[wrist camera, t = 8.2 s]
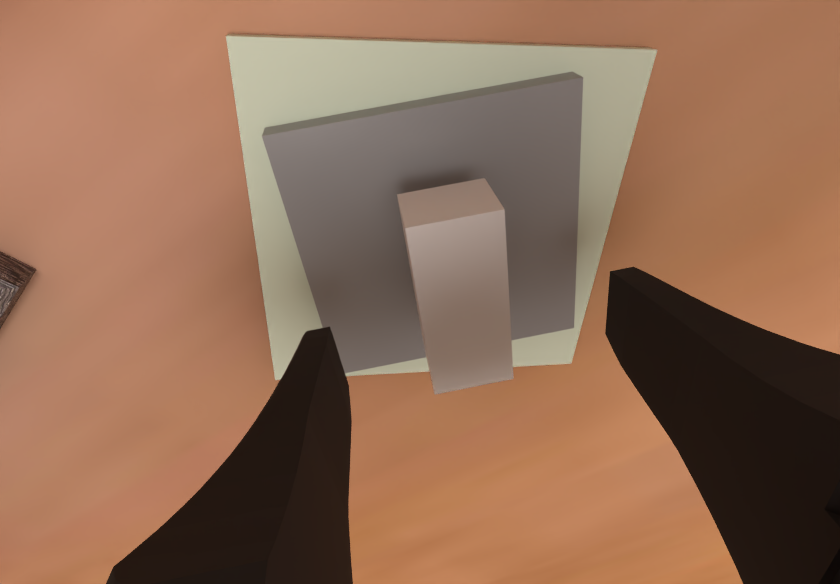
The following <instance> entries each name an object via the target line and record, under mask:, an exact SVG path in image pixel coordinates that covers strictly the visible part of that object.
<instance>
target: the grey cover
mask: <svg viewBox="0 0 840 584" xmlns="http://www.w3.org/2000/svg"><path fill="white" fill-rule="evenodd" d="M582 98H583V77H582V76H580V75H578V74H576V73H574V72H573V71H572V72H567V73H561V74H556V75H550V76H545V77H539V78H534V79H528V80H523V81H517V82H512V83H506V84H501V85H495V86H490V87H484V88H479V89H473V90H468V91H463V92H457V93H452V94H446V95H441V96H435V97H430V98H424V99H419V100H413V101H408V102H402V103H397V104H391V105H386V106H380V107H375V108H369V109H364V110H358V111H353V112H347V113H342V114H337V115H331V116H326V117H320V118H315V119H309V120H304V121H298V122H293V123H287V124H282V125H276V126H271V127H265V129H264V132H263V134H262V138H263V142H264V145H265V148H266V151H267V154H268V157H269V160H270V164H271V167H272V170H273V173H274V176H275V179H276V182H277V186H278V189H279V192H280V195H281V198H282V201H283V204H284V208H285V211H286V214H287V217H288V220H289V223H290V226H291V230H292V233H293V236H294V239H295V242H296V245H297V248H298V252H299V255H300V258H301V261H302V264H303V267H304V270H305V273H306V277H307V280H308V283H309V286H310V289H311V292H312V295H313V299H314V302H315V305H316V308H317V311H318V314H319V317H320V321H321V324H322V327H323V328H325V327H330V328H331V331H332V334H333V337H334V340H335V344H336V347H337V350H338V353H339V356H340V359H341V363H342V366H343V369H344V372H345V373H349V372H354V371H360V370H365V369H370V368H375V367H380V366H385V365H390V364H395V363H400V362H405V361H410V360H415V359H420V358H425V357H426V358H427V362H428V367H429V371H430V376H431V381H432V385H433V390H434V394H440V393H445V392H450V391H455V390H460V389H465V388H470V387H475V386H480V385H485V384H490V383H495V382H500V381H505V380H510V379H514V378H513V359H512V341H511V340H516V339H521V338H526V337H531V336H536V335H541V334H546V333H552V332H557V331H562V330H567V329H572V328H574V318H575V291H576V263H577V235H578V208H579V180H580V153H581V125H582Z"/></svg>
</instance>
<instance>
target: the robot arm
mask: <svg viewBox="0 0 840 584" xmlns="http://www.w3.org/2000/svg"><path fill="white" fill-rule="evenodd" d="M605 334H606V336H607V338H608V340H609V342H610V344H611V346H612V348H613V351H614V353H615V355H616V357H617V358H618V360H619V362H620V364H621V366H622V368H623V369H624V371H625V372H626V374H627V375H628V377H629V378H630V380H631V381H632V383H633V384H634V386H635V387H636V389H637V390H638V392H639V393H640V395H641V396H642V398H643V399H644V400H645V402H646V403H647V405H648V406H649V408H650V409H651V411H652V412H653V414H654V415H655V416H656V418H657V419H658V421H659V422H660V424H661V425H662V427H663V428H664V430H665V431H666V433H667V434H668V436H669V437H670V439H671V440H672V442H673V444H674V445H675V447H676V448H677V450H678V452H679V454H680V455H681V457H682V459H683V461H684V463H685V465H686V467H687V468H688V470H689V472H690V474H691V476H692V478H693V480H694V481H695V483H696V485H697V487H698V489H699V491H700V493H701V495H702V497H703V499H704V501H705V503H706V505H707V507H708V509H709V511H710V513H711V515H712V517H713V519H714V521H715V523H716V525H717V527H718V529H719V531H720V534H721V536H722V538H723V540H724V542H725V544H726V546H727V548H728V551H729V553H730V555H731V557H732V559H733V561H734V563H735V566H736V568H737V570H738V572H739V575H740V577H741V579H742V582H743V584H840V355H839V354H836V353H832V352H829V351H825V350H822V349H819V348H815V347H812V346H809V345H806V344H803V343H800V342H797V341H794V340H792V339H789V338H786V337H783V336H781V335H778V334H775V333H772V332H770V331H767V330H765V329H762V328H760V327H757V326H755V325H752V324H750V323H748V322H745V321H743V320H741V319H738V318H736V317H734V316H732V315H729V314H727V313H725V312H723V311H721V310H719V309H716V308H714V307H712V306H710V305H708V304H706V303H704V302H702V301H700V300H698V299H696V298H694V297H692V296H690V295H688V294H686V293H684V292H682V291H680V290H679V289H677V288H675V287H673V286H671V285H669V284H667V283H665V282H663V281H661V280H659V279H657V278H656V277H654V276H652V275H650V274H648V273H646V272H644V271H642V270H639V269H637V268H635V267H630V268H625V269H620V270H615V271H610V280H609V293H608V306H607V320H606V333H605ZM350 448H351V407H350V396H349V385H348V382H347V378H346V375H345V372H344V369H343V366H342V363H341V359H340V356H339V353H338V350H337V347H336V344H335V340H334V337H333V334H332V331H331V328H330V327H325V328H320V329H315V330H310V331H306V332H305V334H304V335H303V337H302V339H301V341H300V343H299V345H298V347H297V349H296V351H295V353H294V355H293V357H292V359H291V361H290V363H289V365H288V367H287V369H286V371H285V372H284V374H283V376H282V378H281V380H280V381H279V383H278V385H277V387H276V389H275V390H274V392H273V394H272V395H271V397H270V399H269V400H268V402H267V403H266V405H265V407H264V408H263V410H262V411H261V413H260V414H259V416H258V418H257V419H256V421H255V422H254V424H253V425H252V426H251V428H250V429H249V431H248V432H247V434H246V435H245V436H244V438H243V439H242V440H241V442H240V443H239V444H238V446H237V447H236V448H235V449H234V451H233V452H232V453H231V455H230V456H229V457H228V458H227V459H226V461H225V462H224V463H223V464H222V465H221V466H220V467H219V469H218V470H217V471H216V472H215V473H214V474H213V475H212V476H211V478H210V479H209V480H208V481H207V482H206V483H205V484H204V485H203V486H202V488H201V489H200V490H199V491H198V492H197V493H196V494H195V495H194V496H193V497H192V498H191V499H190V500H189V501H188V502H187V503H186V504H185V505H184V506H183V507H182V508H181V509H180V510H179V511H177V512H176V513H175V514H174V515H173V516H172V517H171V518H170V519H169V520H168V521H167V522H166V523H165V524H164V525H162V526H161V527H160V528H159V529H158V530H157V531H156V532H155V533H153V534H152V535H151V536H150V537H149V538H148V539H146V540H145V541H144V542H143V543H142V544H140V545H139V546H138V547H137V548H136V549H135V550H133V551H132V552H131V553H130V554H129V555H127V556H126V557H125V558H124V559H123V560H121V561H120V562H119V563H118V564H116V565H115V566H114V567H113V569H112V571H111V574H110V576H109V578H108V580H107V583H106V584H353V582H352V568H351V553H350V537H349V520H348V496H349V472H350Z"/></svg>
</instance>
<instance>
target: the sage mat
mask: <svg viewBox="0 0 840 584" xmlns="http://www.w3.org/2000/svg"><path fill="white" fill-rule="evenodd" d="M226 40H227V47H228V54H229V61H230V68H231V75H232V82H233V89H234V96H235V103H236V110H237V117H238V124H239V131H240V138H241V145H242V152H243V159H244V166H245V173H246V180H247V187H248V194H249V201H250V208H251V215H252V222H253V229H254V236H255V242H256V249H257V256H258V263H259V270H260V277H261V284H262V291H263V298H264V305H265V312H266V319H267V326H268V333H269V340H270V347H271V354H272V361H273V368H274V375H275V380H281V378H282V376H283V374H284V372H285V371H286V369H287V367H288V365H289V363H290V361H291V359H292V357H293V355H294V353H295V351H296V349H297V347H298V345H299V343H300V341H301V339H302V337H303V335H304V334H305V332H306V331H310V330H315V329H320V328H323V327H322V324H321V321H320V317H319V314H318V311H317V308H316V305H315V302H314V299H313V295H312V292H311V289H310V286H309V283H308V280H307V277H306V273H305V270H304V267H303V264H302V261H301V258H300V255H299V252H298V248H297V245H296V242H295V239H294V236H293V233H292V230H291V226H290V223H289V220H288V217H287V214H286V211H285V208H284V204H283V201H282V198H281V195H280V192H279V189H278V186H277V182H276V179H275V176H274V173H273V170H272V167H271V164H270V160H269V157H268V154H267V151H266V148H265V145H264V142H263V138H262V134H263V132H264V129H265V127H271V126H276V125H282V124H287V123H293V122H298V121H304V120H309V119H315V118H320V117H326V116H331V115H337V114H342V113H347V112H353V111H358V110H364V109H369V108H375V107H380V106H386V105H391V104H397V103H402V102H408V101H413V100H419V99H424V98H430V97H435V96H441V95H446V94H452V93H457V92H463V91H468V90H473V89H479V88H484V87H490V86H495V85H501V84H506V83H512V82H517V81H523V80H528V79H534V78H539V77H545V76H550V75H556V74H561V73H567V72H572V71H573V72H574V73H576V74H578V75H580V76H582V77H583V98H582V125H581V153H580V180H579V208H578V235H577V263H576V291H575V318H574V328H572V329H567V330H562V331H557V332H552V333H546V334H541V335H536V336H531V337H526V338H521V339H516V340H511V341H512V359H513V367H519V366H537V365H555V364H571V363H572V359H573V355H574V352H575V348H576V344H577V341H578V337H579V333H580V330H581V326H582V323H583V319H584V315H585V312H586V308H587V304H588V301H589V297H590V293H591V290H592V286H593V282H594V279H595V275H596V272H597V268H598V264H599V261H600V257H601V253H602V250H603V246H604V242H605V239H606V235H607V231H608V228H609V224H610V220H611V217H612V213H613V210H614V206H615V202H616V199H617V195H618V191H619V188H620V184H621V180H622V177H623V173H624V169H625V166H626V162H627V159H628V155H629V151H630V148H631V144H632V140H633V137H634V133H635V129H636V126H637V122H638V118H639V115H640V111H641V107H642V104H643V100H644V97H645V93H646V89H647V86H648V82H649V78H650V75H651V71H652V67H653V64H654V60H655V56H656V53H657V50H656V49H653V48H650V47H619V46H588V45H558V44H527V43H496V42H466V41H435V40H404V39H374V38H343V37H312V36H282V35H251V34H228V35H226ZM411 372H429V367H428V362H427V358H426V357H425V358H420V359H415V360H410V361H405V362H400V363H395V364H390V365H385V366H380V367H375V368H370V369H365V370H360V371H354V372H349V373H345V375H346V376H357V375H375V374H393V373H411Z"/></svg>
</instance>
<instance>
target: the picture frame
mask: <svg viewBox="0 0 840 584" xmlns="http://www.w3.org/2000/svg"><path fill="white" fill-rule="evenodd" d="M35 270H36V269H35V268H33V267H31V266H29V265H27V264H25V263H23V262H21V261H19V260H17V259H15V258H13V257H11V256H8V255H6V254H4V253H2V252H0V328H1V326H2V325H3V323H4V321H5V320H6V318H7V316H8V315H9V313H10V311H11V310H12V308H13V307H14V305H15V303H16V302H17V300H18V298H19V297H20V295H21V293H22V292H23V290H24V288H25V287H26V285H27V284H28V282H29V280H30V279H31V277H32V275H33V274H34V272H35Z"/></svg>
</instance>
